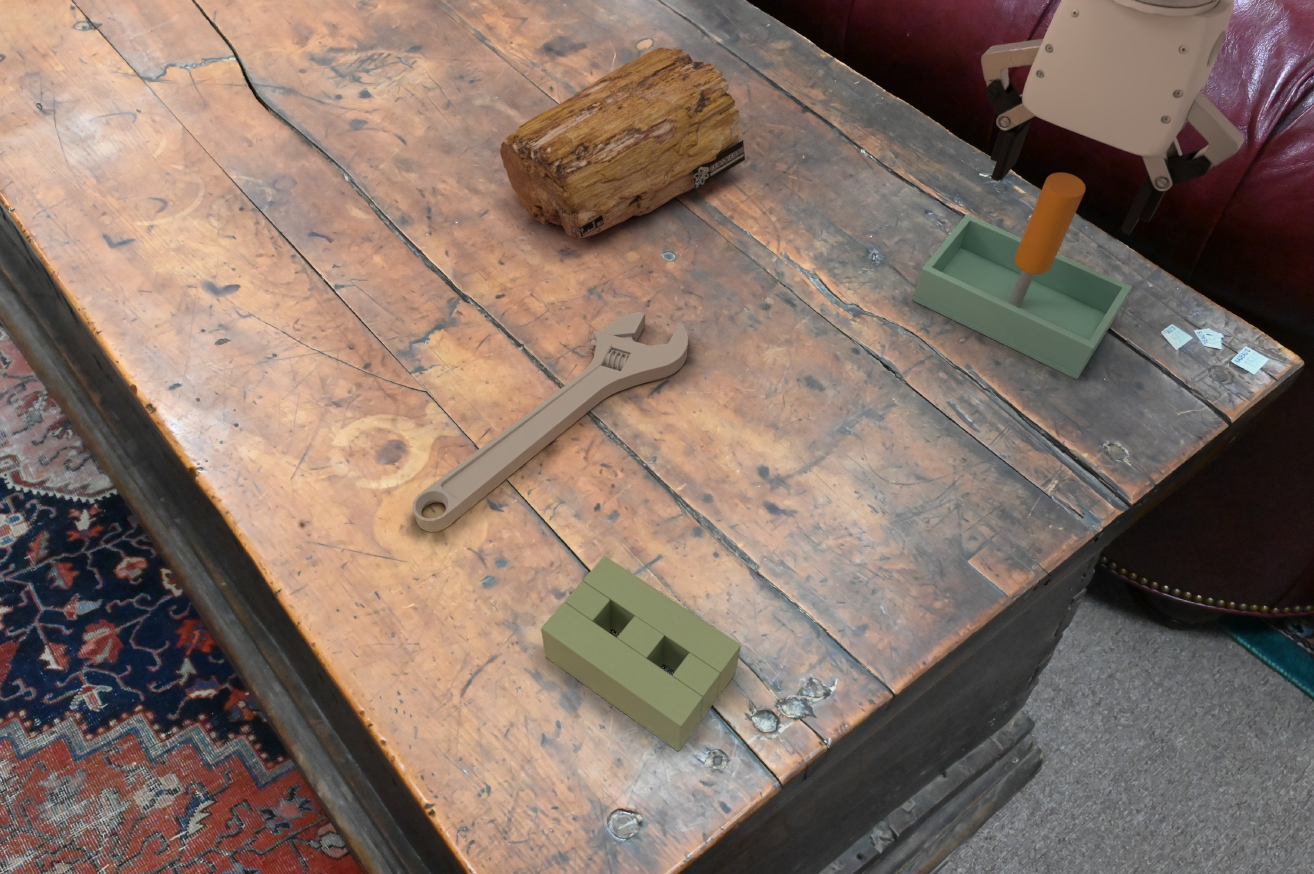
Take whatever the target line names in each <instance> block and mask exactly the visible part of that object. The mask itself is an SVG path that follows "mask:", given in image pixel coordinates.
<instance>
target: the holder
mask: <svg viewBox="0 0 1314 874" xmlns="http://www.w3.org/2000/svg"><path fill="white" fill-rule="evenodd" d="M612 630H613V631H614V632H616V633H617V634H618V635H617V636H615V635H613V634H612V633H610V631H612ZM540 631H541V638H542V644H543V651H544V656H545V658H546V659H547V660H549V661H550V662H552V663H553V664H555V665H556V666H557V667H558V668H560V669H561V670H563V672H566V673H567V674H569V675H570V676H571V677H573V678H574V679H575V680H577V681H579V682H580V683H581V684H582V685H584V686H586V687H587V688H588V689H590V690H591V691H592V692H594V693H595V694H597V695H598V696H599V697H601V698H602V699H603V700H605V701H606V702H608V703H609V704H611V705H612V706H613V707H615V709H618V710H619V711H620V712H621V713H623V714H625V715H626V716H628V717H629V718H630V719H632V720H633V721H635V722H636V723H637V724H639V725H640V726H641V727H643V728H644V729H646V730H647V731H648V732H650V733H651V734H653V735H654V736H656V737H657V738H659V739H660V740H661V741H662V742H664V743H665V744H667V745H668V746H669V747H671V748H672V749H674V750H675V751H676V752H680V750H681V749H682V748H683V746H684V745H685V744H686V743H687V741H688V739H689V738H691V735H692V734H693V733H694V731H695V730H696V729H697V727H698V726H699V724H700V723H701V722H702V720H703V719H704V717H705V716H706V714H707V713H708V712H709V710H710V709H711V708H712V706H713V705H714V704H715V702H716V701H717V700H718V699H719V697H720V696H721V694H722V692H723V691H724V690H725V688H727V686H728V685H729V683H730V682H731V680H732V679H733V678H734V676H735V675H736V672H737V669H738V664H739V658H740V652H741V648H742V644H741V643H739V642H737V641H736V640H735V639H733V638H732V637H730V636H728V635H727V634H726V633H723V632H722V631H721V630H719V629H717V627H715V626H714V625H712V624H710V623H709V622H707V621H706V620H704V619H703V618H701V617H699V616H698V615H696V614H695V613H693V612H692V611H690V610H688V609H687V608H685V607H684V606H683V605H681V604H679V603H678V602H676V601H675V600H673V599H672V598H670V597H669V596H667V595H666V594H664V593H663V592H661V591H659V590H658V589H656V588H655V587H653V586H652V585H650V584H649V583H648V582H646V581H644V580H643V579H641V578H640V577H638V576H636V575H635V574H633V573H632V572H630V571H629V570H628V569H626V568H625V567H623V566H621V565H620V564H618V563H617V562H615V561H614V560H612V559H611V558H609V557H607V556H606V555H603V556H602V557H601V559H599V560H598V562H597V563H596V564H595V566H593V568H592V569H591V570H590V571H589V572H588V574H587V575H586V576H585V577H584V578H583V579H582V581H580V583H579V584H577V586H576V588H575V589H574V590H573V591H572V592H571V593H570V594H569V595H568V597H567V598H565V600H564V602H562V604H560V606H558V608H557V609H556V610H555V611H554V613H553V614H552V615H551V616H550V617H549V618H548V620H547V621H546V622H544V624H543V625H542V626H541V627H540ZM663 665H665V667H667V668H669V669H670V670H672V671H673V674H670V673H669V672H667V671H666V670H664V669H663V668H661V667H662V666H663Z"/></svg>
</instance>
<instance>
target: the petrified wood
mask: <svg viewBox="0 0 1314 874" xmlns="http://www.w3.org/2000/svg"><path fill="white" fill-rule="evenodd" d="M716 65H717V64H712V63H705V62H704V61H703V60H696V61H693V59H692V57H691V56H690V54H689V53H685V52H684V49H683V48H669V47H657V48H656V49H653V50H651V51H648V52H647V53H645V54H643V55H642V56H640V57H638V58H636V59H634V60H633V61H631V62H627V63H625V64H623V65H621V66H619V67H618V68H616V69H614V70H612V71H610V72H609V73H606V74H605V75H603V76H602V77H600V78H598V79H597V80H595V81H594V82H592V83H591V84H589V85H588V86H586V87H585V88H583V89H582V90H580V91H577V92H576V93H575V94H574V95H573V96H571V97H568V98H567V99H565V100H564V101H562V102H560V103H559V104H557V105H555V106H553V107H551V108H549V109H546V110H545V111H543V112H541V113H539V114H537V115H535V116H533V117H532V118H530V119H529V120H527V121H526V122H524V123H523V124H521V125H519V126H518V129H517V130H516V131H515V132H513V133H511V134H509V135H508V136H507V137H506V138H505V139H503V141H502V142H501V143H500V150H499V153H500V157H501V160H502V165H503V168H504V169H505V170H506V173H507V178H508V180H509V183H510V185H511V188H512V190H513V191H514V192H515V193H516V195H517V198H518V200H519V201H520V202H521V203H522V204H523V205H524V206H525V208H526V211H528V213H530V215H531V217H532V219H534V220H535V221H539V222H540V223H541V224H542V225H547V224H549V223H552V224H555V225H557V226H562V227H563V229H564V232H565V234H567V236H569V237H573V238H574V239H575V240H576V239H581V238H582V239H583V238H588V237H592V236H594V235H597V234H599V233H602V232H604V231H606V230H607V229H610V228H612V227H614V226H616V225H619V224H621V223H623V222H625V221H627V220H628V219H629V218H631V217H633V216H634V217H639V216H644V215H648V214H650V213H651V212H652V211H654V210H656V209H657V208H659V207H661V206H662V205H664V204H666V203H668V202H669V201H671V200H672V199H674V198H675V197H678V196H679V195H682V194H684V193H687V192H690V191H691V190H692V189H694V190H695V191H696V190H698V189H700V188H702V187H703V186H704V185H706V184H708V183H710V182H711V181H713V180H715V179H716V178H718V177H720V176H721V175H723V174H724V173H726V172H728V171H729V170H732V169H733V168H734V167H735V166H737V165H739V164H740V163H743V162H745V161H746V157H745V156H746V153H745V145H744V144H745V143H744V139H742V140H740V139H739V135H740V132H741V131H740V130H741V116H740V110H739V107H738V106H737V105H736V100H735V99H734V98H733V96H732V95H731V93H730V90H729V82H728V81H727V79H726V78H725V77H724V76H723V71H719V70H718V68H717V66H716Z"/></svg>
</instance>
